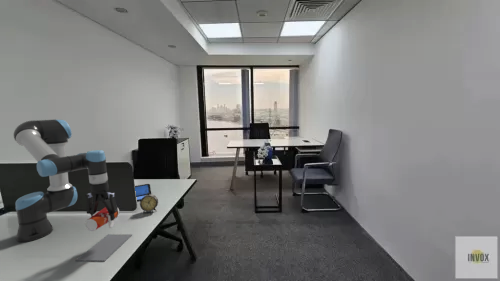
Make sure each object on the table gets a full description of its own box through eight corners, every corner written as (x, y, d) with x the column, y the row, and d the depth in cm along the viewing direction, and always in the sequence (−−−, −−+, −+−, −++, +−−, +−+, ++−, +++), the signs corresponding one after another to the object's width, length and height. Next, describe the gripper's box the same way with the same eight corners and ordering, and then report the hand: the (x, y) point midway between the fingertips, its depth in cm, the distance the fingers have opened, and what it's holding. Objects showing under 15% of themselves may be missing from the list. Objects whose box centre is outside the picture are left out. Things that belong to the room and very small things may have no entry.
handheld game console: (131, 203, 171) (130, 191, 170) (129, 198, 182) (128, 186, 181) (153, 198, 179) (152, 187, 178) (150, 193, 190) (149, 183, 189)
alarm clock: (140, 213, 152) (138, 190, 150) (143, 210, 157) (141, 188, 155) (157, 212, 153) (155, 189, 151) (159, 209, 159) (157, 186, 157)
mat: (75, 261, 104) (75, 260, 104) (107, 235, 126) (107, 234, 126) (104, 261, 103) (104, 260, 103) (132, 235, 125) (132, 234, 125)
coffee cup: (98, 216, 104) (119, 203, 119) (81, 216, 105) (104, 203, 119) (100, 233, 105) (120, 218, 120) (83, 233, 106) (105, 218, 120)
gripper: (73, 184, 107) (79, 230, 110) (113, 184, 106) (118, 230, 109) (85, 179, 115) (90, 222, 118) (123, 179, 113) (127, 222, 116)
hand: (104, 226), depth 113 cm, fingers closed on coffee cup, 7 cm apart
